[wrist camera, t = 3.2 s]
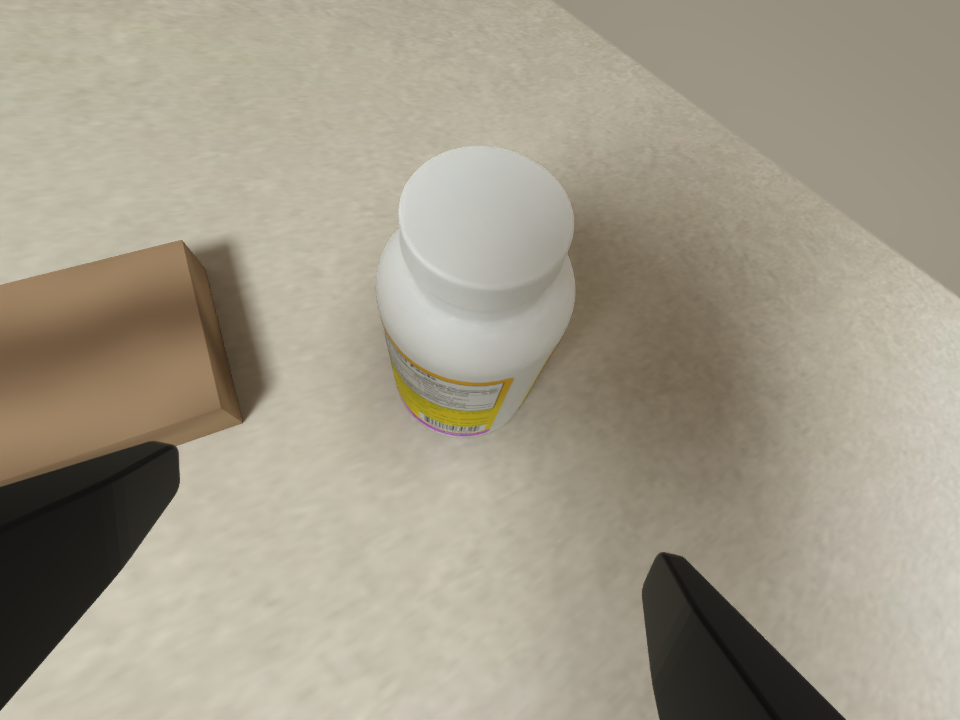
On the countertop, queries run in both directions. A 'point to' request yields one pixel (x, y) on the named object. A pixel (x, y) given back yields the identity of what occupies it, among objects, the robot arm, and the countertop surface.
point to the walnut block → (110, 361)
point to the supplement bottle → (475, 286)
